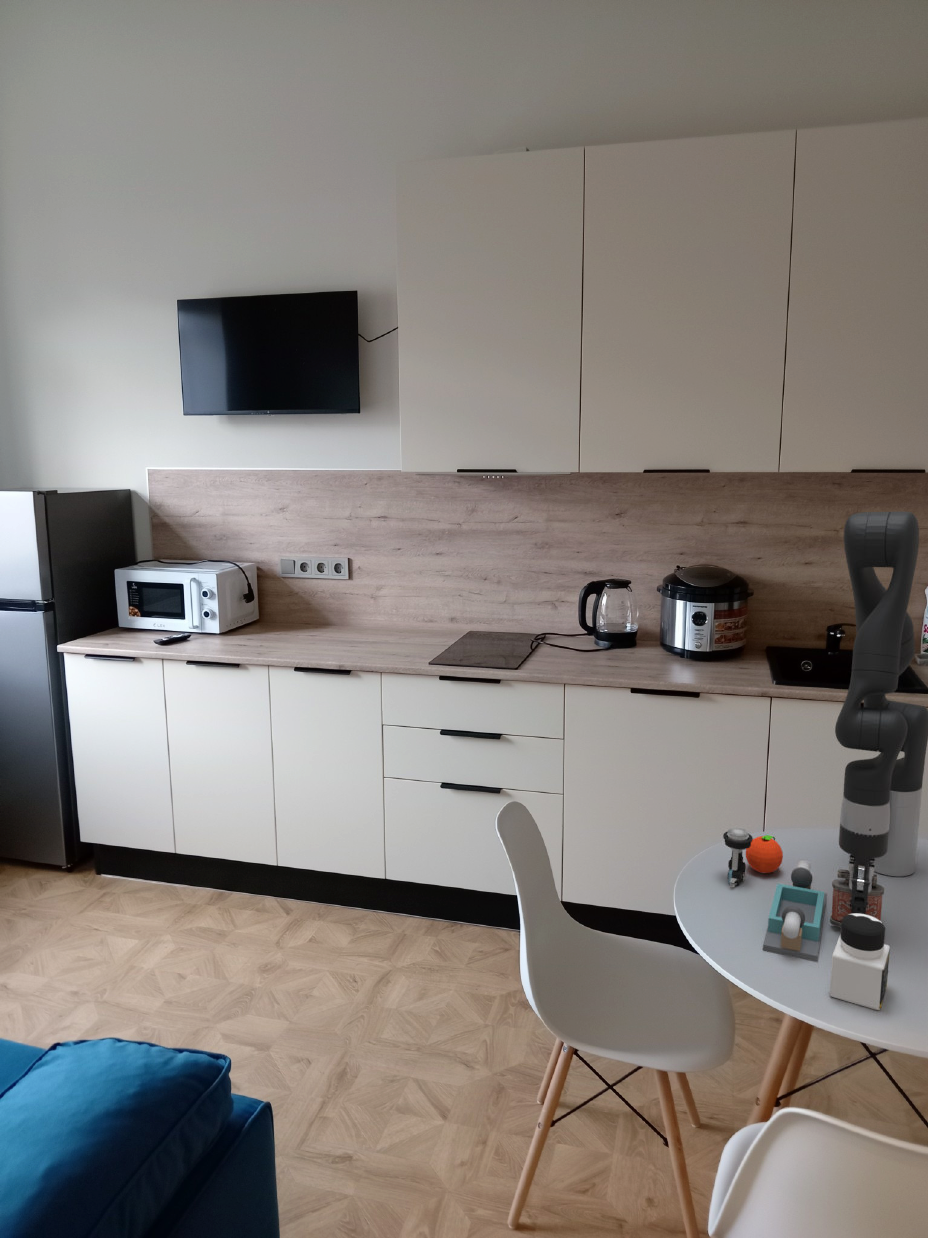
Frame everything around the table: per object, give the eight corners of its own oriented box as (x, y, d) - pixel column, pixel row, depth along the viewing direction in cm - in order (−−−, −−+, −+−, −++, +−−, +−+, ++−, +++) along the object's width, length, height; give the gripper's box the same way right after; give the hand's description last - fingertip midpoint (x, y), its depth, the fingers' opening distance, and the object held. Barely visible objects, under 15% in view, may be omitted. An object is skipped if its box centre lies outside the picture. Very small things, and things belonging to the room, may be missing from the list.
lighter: (880, 923, 154) (884, 870, 152) (882, 934, 151) (886, 879, 149) (829, 916, 156) (832, 863, 154) (830, 927, 153) (833, 873, 151)
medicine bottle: (880, 1012, 132) (886, 938, 130) (828, 997, 136) (833, 925, 134) (887, 987, 138) (892, 915, 136) (837, 973, 142) (842, 903, 140)
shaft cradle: (778, 886, 169) (780, 853, 168) (826, 895, 166) (829, 861, 164) (761, 954, 148) (763, 916, 146) (816, 965, 144) (819, 927, 143)
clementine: (757, 857, 181) (758, 824, 179) (790, 868, 176) (792, 834, 175) (738, 871, 175) (739, 838, 174) (772, 883, 171) (773, 848, 169)
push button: (745, 892, 167) (747, 842, 165) (716, 886, 170) (718, 837, 168) (753, 877, 173) (755, 829, 171) (725, 871, 176) (727, 823, 174)
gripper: (889, 845, 142) (881, 943, 145) (889, 810, 154) (882, 901, 158) (838, 837, 145) (832, 933, 148) (842, 803, 157) (836, 893, 161)
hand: (858, 916), depth 153 cm, fingers closed on lighter, 3 cm apart
